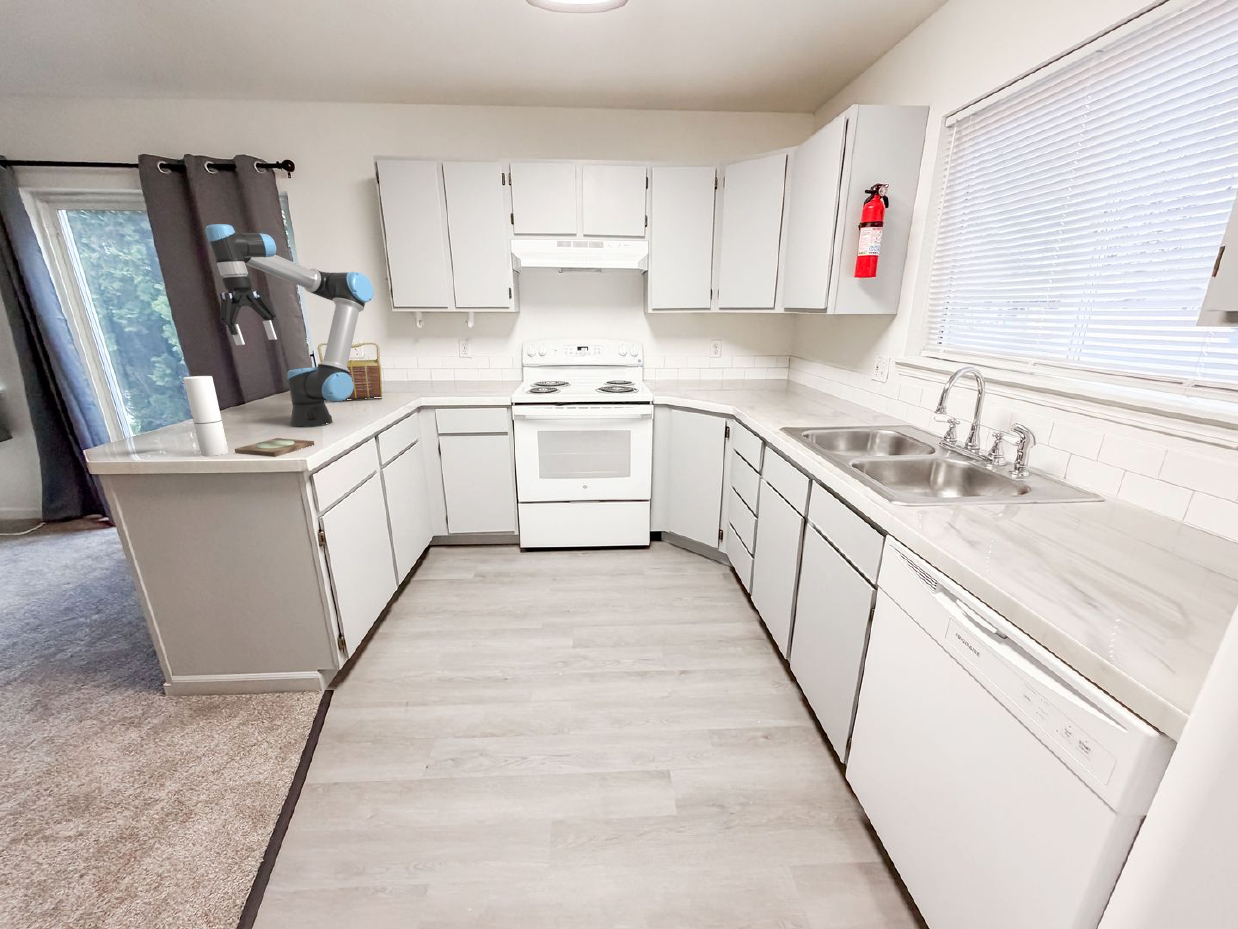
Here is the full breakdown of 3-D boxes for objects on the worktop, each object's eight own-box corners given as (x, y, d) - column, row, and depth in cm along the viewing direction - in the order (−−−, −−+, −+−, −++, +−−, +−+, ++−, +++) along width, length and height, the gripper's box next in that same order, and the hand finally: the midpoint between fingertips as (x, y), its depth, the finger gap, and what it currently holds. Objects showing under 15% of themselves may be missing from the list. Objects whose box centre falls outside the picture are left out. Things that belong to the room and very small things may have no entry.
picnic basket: (325, 404, 256) (315, 344, 248) (326, 397, 278) (317, 341, 270) (387, 400, 270) (380, 343, 261) (383, 394, 291) (377, 341, 283)
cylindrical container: (225, 449, 170) (208, 375, 163) (231, 453, 165) (215, 377, 158) (198, 453, 164) (180, 377, 157) (204, 457, 160) (186, 379, 153)
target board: (277, 442, 180) (276, 437, 180) (314, 445, 177) (313, 440, 176) (235, 453, 166) (234, 448, 165) (274, 456, 162) (273, 451, 161)
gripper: (256, 276, 177) (276, 338, 184) (190, 278, 154) (215, 348, 161) (274, 274, 175) (293, 336, 183) (210, 275, 152) (235, 346, 160)
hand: (257, 342), depth 172 cm, fingers open, 13 cm apart
